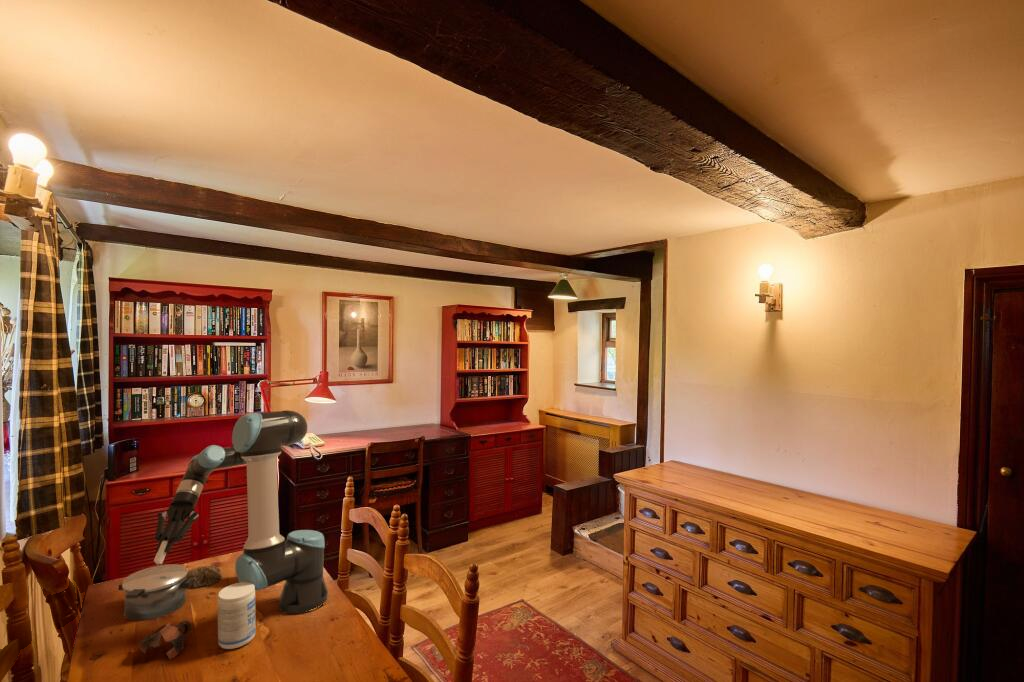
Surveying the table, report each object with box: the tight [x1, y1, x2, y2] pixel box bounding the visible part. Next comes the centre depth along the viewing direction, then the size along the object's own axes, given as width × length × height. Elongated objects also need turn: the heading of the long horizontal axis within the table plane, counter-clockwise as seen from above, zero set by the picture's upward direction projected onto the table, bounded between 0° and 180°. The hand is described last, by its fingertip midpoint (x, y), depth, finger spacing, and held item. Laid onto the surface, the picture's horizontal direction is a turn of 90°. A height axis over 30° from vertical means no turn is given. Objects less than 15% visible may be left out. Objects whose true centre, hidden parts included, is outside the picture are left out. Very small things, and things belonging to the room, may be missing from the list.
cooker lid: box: [121, 563, 189, 599], centre depth 154 cm, size 20×17×1 cm
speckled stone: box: [186, 565, 223, 589], centre depth 174 cm, size 13×12×5 cm
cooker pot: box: [117, 578, 194, 622], centre depth 156 cm, size 17×21×9 cm
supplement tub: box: [217, 582, 257, 650], centre depth 139 cm, size 10×10×15 cm
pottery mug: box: [139, 620, 192, 661], centre depth 134 cm, size 12×10×8 cm
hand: (157, 562), depth 156 cm, fingers closed
